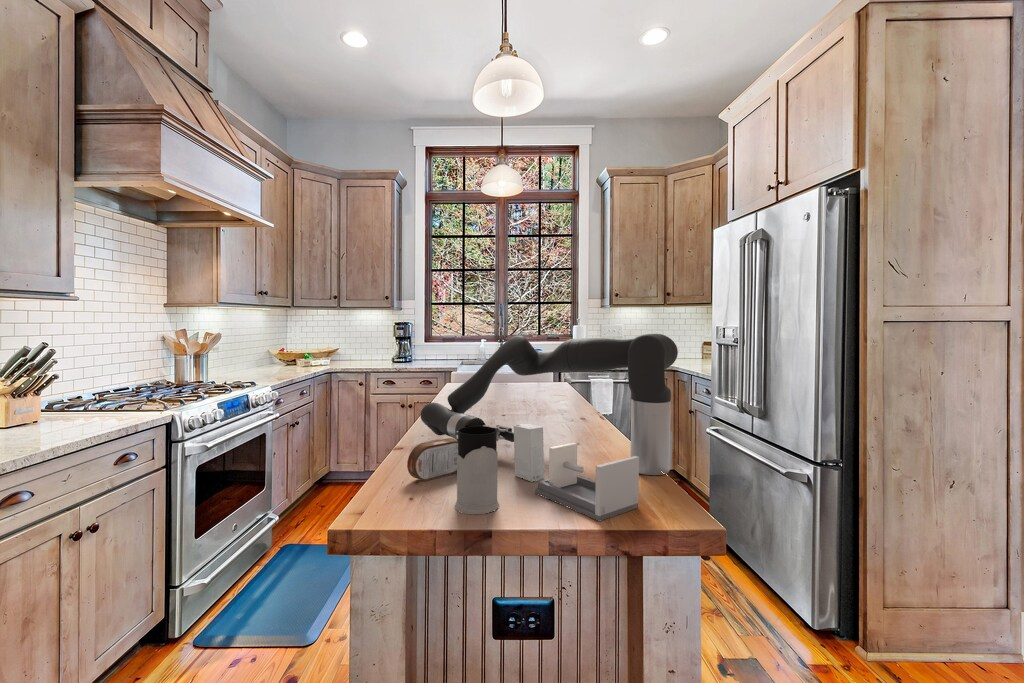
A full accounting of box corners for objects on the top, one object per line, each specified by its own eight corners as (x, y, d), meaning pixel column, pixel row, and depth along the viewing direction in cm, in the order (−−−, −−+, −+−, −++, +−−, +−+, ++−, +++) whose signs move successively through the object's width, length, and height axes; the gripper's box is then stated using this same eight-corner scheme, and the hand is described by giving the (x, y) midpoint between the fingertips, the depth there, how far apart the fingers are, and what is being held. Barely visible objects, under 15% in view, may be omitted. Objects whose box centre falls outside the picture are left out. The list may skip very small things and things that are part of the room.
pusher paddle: (572, 481, 108) (573, 442, 108) (593, 489, 103) (593, 448, 103) (548, 488, 104) (549, 447, 104) (568, 496, 99) (569, 453, 99)
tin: (459, 468, 122) (459, 434, 121) (467, 471, 119) (467, 436, 119) (406, 482, 111) (406, 445, 111) (414, 486, 109) (414, 447, 108)
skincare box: (544, 479, 114) (545, 426, 113) (530, 483, 111) (530, 429, 111) (527, 472, 119) (527, 422, 118) (512, 476, 116) (513, 424, 115)
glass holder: (461, 517, 91) (461, 437, 91) (442, 492, 105) (442, 421, 104) (506, 511, 95) (506, 433, 94) (482, 487, 108) (482, 419, 107)
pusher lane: (573, 483, 111) (573, 439, 111) (638, 507, 97) (638, 457, 96) (535, 493, 104) (535, 446, 104) (599, 521, 90) (599, 467, 90)
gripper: (443, 418, 132) (477, 429, 119) (487, 412, 140) (523, 421, 127) (443, 446, 132) (477, 460, 119) (487, 438, 141) (523, 450, 128)
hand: (501, 440), depth 123 cm, fingers open, 8 cm apart
